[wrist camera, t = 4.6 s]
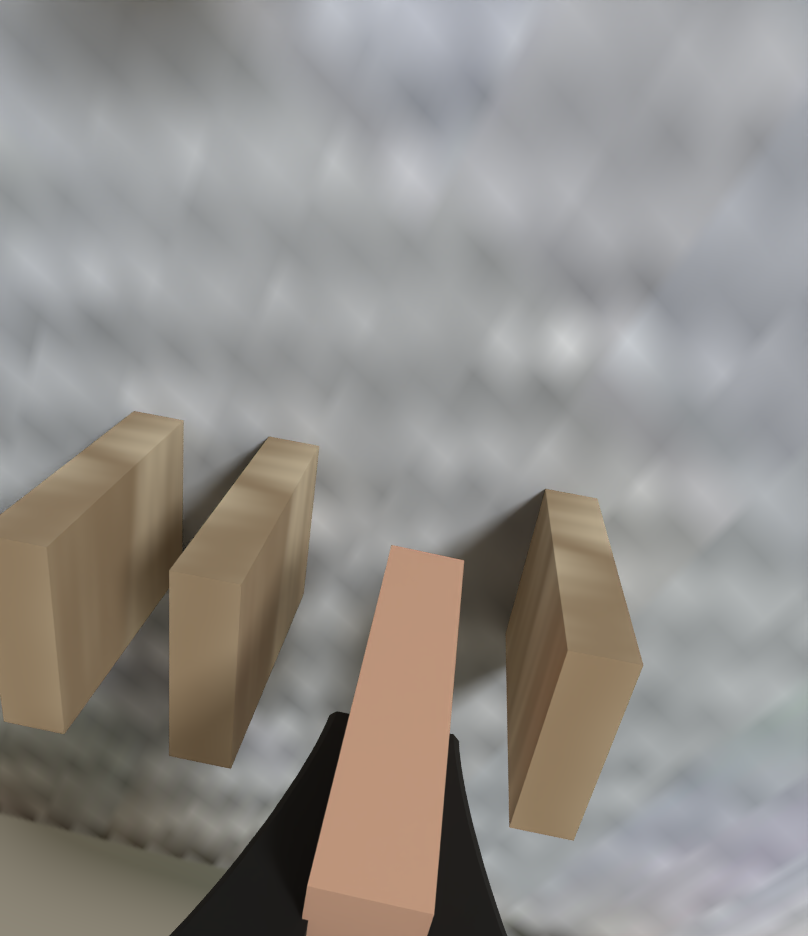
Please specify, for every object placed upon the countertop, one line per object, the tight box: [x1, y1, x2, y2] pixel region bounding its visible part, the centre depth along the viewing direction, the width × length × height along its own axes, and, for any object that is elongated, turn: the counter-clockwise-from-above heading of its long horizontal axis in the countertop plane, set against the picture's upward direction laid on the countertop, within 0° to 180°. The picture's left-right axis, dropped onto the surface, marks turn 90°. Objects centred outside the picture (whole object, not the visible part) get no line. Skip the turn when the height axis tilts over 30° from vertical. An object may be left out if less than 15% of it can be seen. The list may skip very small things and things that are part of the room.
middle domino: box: [169, 437, 319, 769], centre depth 17 cm, size 1×5×6 cm, turn 171°
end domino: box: [506, 489, 643, 841], centre depth 17 cm, size 1×5×6 cm, turn 171°
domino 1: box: [0, 411, 183, 734], centre depth 17 cm, size 1×5×6 cm, turn 171°
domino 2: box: [302, 545, 464, 936], centre depth 12 cm, size 1×5×6 cm, turn 170°
